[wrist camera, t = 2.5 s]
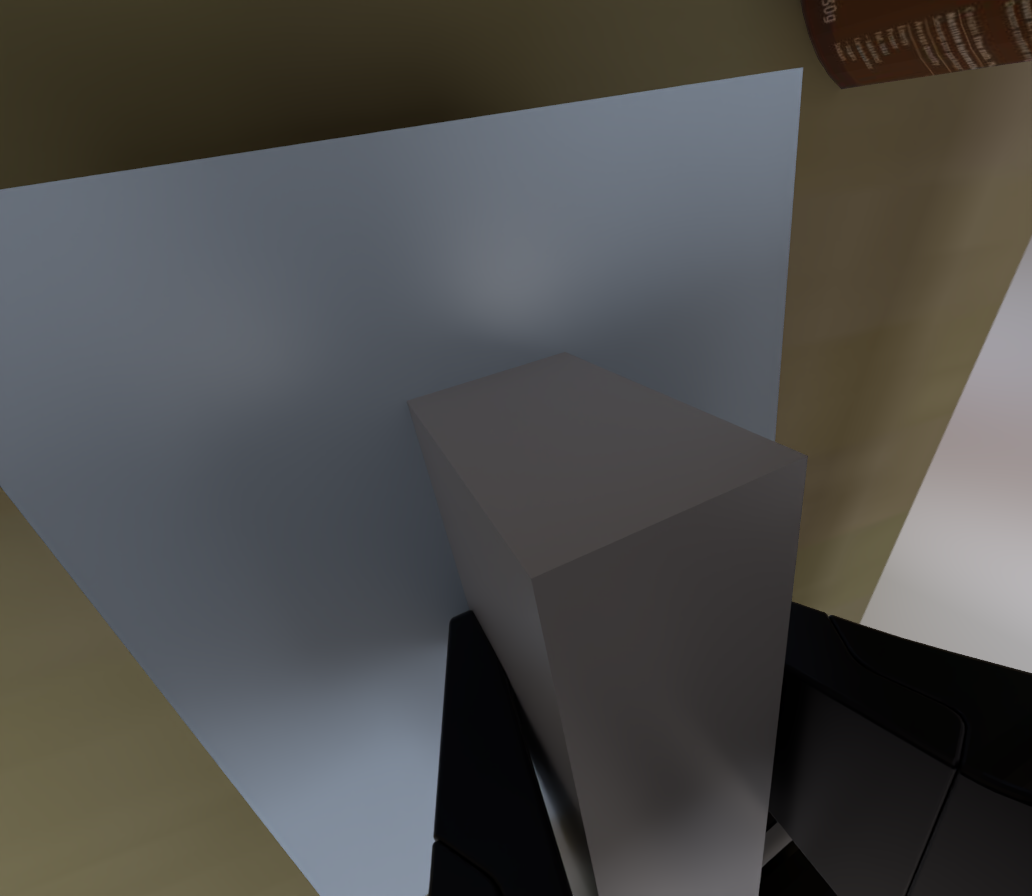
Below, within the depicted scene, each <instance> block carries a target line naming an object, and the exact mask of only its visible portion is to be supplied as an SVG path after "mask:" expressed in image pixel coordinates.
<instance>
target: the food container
mask: <svg viewBox="0 0 1032 896" xmlns="http://www.w3.org/2000/svg"><path fill="white" fill-rule="evenodd" d="M801 4H802V10H803V15H804V18H805V22H806V26H807V30H808V33H809V37H810V39H811V42H812V44H813V47H814V49H815V52H816V54H817V56H818V59H819V60H820V62H821V63H822V65H823V67H824V68H825V70H826V72H827V73H828V75H829V76H830V77H831V78H832V79H833V80H834V81H835V82H836V84H837V85H838V86H839V87H840V88H841V89H845V88H851V87H858V86H865V85H871V84H878V83H885V82H891V81H898V80H905V79H912V78H918V77H925V76H932V75H938V74H945V73H952V72H958V71H965V70H972V69H978V68H985V67H992V66H998V65H1005V64H1012V63H1019V62H1025V61H1032V0H801Z"/></svg>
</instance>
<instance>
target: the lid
mask: <svg viewBox="0 0 1032 896" xmlns="http://www.w3.org/2000/svg"><path fill="white" fill-rule="evenodd" d="M802 75H803V67H802V68H795V69H789V70H782V71H776V72H769V73H762V74H756V75H749V76H743V77H736V78H730V79H723V80H717V81H710V82H703V83H697V84H690V85H684V86H677V87H671V88H664V89H657V90H651V91H644V92H638V93H631V94H625V95H618V96H611V97H605V98H598V99H592V100H585V101H579V102H572V103H566V104H559V105H552V106H546V107H539V108H533V109H526V110H520V111H513V112H506V113H500V114H493V115H487V116H480V117H474V118H467V119H460V120H454V121H447V122H441V123H434V124H428V125H421V126H414V127H408V128H401V129H395V130H388V131H382V132H375V133H369V134H362V135H355V136H349V137H342V138H336V139H329V140H323V141H316V142H309V143H303V144H296V145H290V146H283V147H277V148H270V149H263V150H257V151H250V152H244V153H237V154H231V155H224V156H218V157H211V158H204V159H198V160H191V161H185V162H178V163H172V164H165V165H158V166H152V167H145V168H139V169H132V170H126V171H119V172H112V173H106V174H99V175H93V176H86V177H80V178H73V179H67V180H60V181H53V182H47V183H40V184H34V185H27V186H21V187H14V188H7V189H1V190H0V486H1V488H2V489H3V490H4V492H5V493H6V494H7V495H8V497H9V498H10V499H11V501H12V502H13V503H14V504H15V506H16V507H17V508H18V509H19V511H20V512H21V513H22V515H23V516H24V517H25V518H26V520H27V521H28V522H29V524H30V525H31V526H32V527H33V529H34V530H35V531H36V533H37V534H38V535H39V536H40V538H41V539H42V540H43V541H44V543H45V544H46V545H47V547H48V548H49V549H50V550H51V552H52V553H53V554H54V556H55V557H56V558H57V559H58V561H59V562H60V563H61V565H62V566H63V567H64V568H65V570H66V571H67V572H68V573H69V575H70V576H71V577H72V579H73V580H74V581H75V582H76V584H77V585H78V586H79V588H80V589H81V590H82V591H83V593H84V594H85V595H86V597H87V598H88V599H89V600H90V602H91V603H92V604H93V605H94V607H95V608H96V609H97V611H98V612H99V613H100V614H101V616H102V617H103V618H104V620H105V621H106V622H107V623H108V625H109V626H110V627H111V629H112V630H113V631H114V632H115V634H116V635H117V636H118V637H119V639H120V640H121V641H122V643H123V644H124V645H125V646H126V648H127V649H128V650H129V652H130V653H131V654H132V655H133V657H134V658H135V659H136V661H137V662H138V663H139V664H140V666H141V667H142V668H143V669H144V671H145V672H146V673H147V675H148V676H149V677H150V678H151V680H152V681H153V682H154V684H155V685H156V686H157V687H158V689H159V690H160V691H161V693H162V694H163V695H164V696H165V698H166V699H167V700H168V701H169V703H170V704H171V705H172V707H173V708H174V709H175V710H176V712H177V713H178V714H179V716H180V717H181V718H182V719H183V721H184V722H185V723H186V725H187V726H188V727H189V728H190V730H191V731H192V732H193V733H194V735H195V736H196V737H197V739H198V740H199V741H200V742H201V744H202V745H203V746H204V748H205V749H206V750H207V751H208V753H209V754H210V755H211V757H212V758H213V759H214V760H215V762H216V763H217V764H218V765H219V767H220V768H221V769H222V771H223V772H224V773H225V774H226V776H227V777H228V778H229V780H230V781H231V782H232V783H233V785H234V786H235V787H236V789H237V790H238V791H239V792H240V794H241V795H242V796H243V797H244V799H245V800H246V801H247V803H248V804H249V805H250V806H251V808H252V809H253V810H254V812H255V813H256V814H257V815H258V817H259V818H260V819H261V821H262V822H263V823H264V824H265V826H266V827H267V828H268V829H269V831H270V832H271V833H272V835H273V836H274V837H275V838H276V840H277V841H278V842H279V844H280V845H281V846H282V847H283V849H284V850H285V851H286V853H287V854H288V855H289V856H290V858H291V859H292V860H293V861H294V863H295V864H296V865H297V867H298V868H299V869H300V870H301V872H302V873H303V874H304V876H305V877H306V878H307V879H308V881H309V882H310V883H311V885H312V886H313V887H314V888H315V890H316V891H317V892H318V893H319V895H320V896H425V895H427V894H428V891H429V881H430V868H431V855H432V845H433V843H434V842H435V840H434V838H433V833H434V819H435V806H436V792H437V779H438V766H439V752H440V739H441V725H442V712H443V699H444V685H445V672H446V659H447V645H448V632H449V622H450V620H451V618H453V617H455V616H457V615H459V614H461V613H464V612H466V611H468V610H472V611H473V612H474V614H475V616H476V617H477V619H478V621H479V623H480V625H481V627H482V629H483V630H484V632H485V634H486V636H487V638H488V640H489V642H490V644H491V645H492V647H493V649H494V651H495V653H496V655H497V657H498V659H499V661H500V663H501V665H502V667H503V669H504V671H505V674H506V677H507V680H508V684H509V687H510V690H511V694H512V697H513V700H514V703H515V707H516V710H517V713H518V717H519V720H520V723H521V726H522V730H523V733H524V736H525V740H526V743H527V746H528V749H529V753H530V756H531V759H532V763H533V766H534V769H535V772H536V776H537V779H538V782H539V785H540V789H541V792H542V795H543V799H544V802H545V805H546V808H547V812H548V815H549V818H550V822H551V825H552V828H553V831H554V835H555V838H556V841H557V845H558V848H559V851H560V854H561V858H562V861H563V864H564V868H565V871H566V874H567V877H568V881H569V884H570V887H571V890H572V893H573V895H574V896H759V887H760V878H761V869H762V860H763V851H764V842H765V833H766V824H767V815H768V806H769V798H770V789H771V780H772V771H773V762H774V753H775V744H776V735H777V726H778V717H779V708H780V699H781V690H782V681H783V672H784V664H785V655H786V646H787V637H788V628H789V619H790V610H791V601H792V592H793V583H794V574H795V565H796V556H797V547H798V539H799V530H800V521H801V512H802V503H803V494H804V485H805V476H806V467H807V458H808V456H807V455H804V454H802V453H800V452H797V451H795V450H793V449H790V448H788V447H786V446H783V445H781V444H779V443H776V442H775V433H776V419H777V406H778V393H779V380H780V366H781V353H782V340H783V327H784V313H785V300H786V287H787V274H788V260H789V247H790V234H791V221H792V207H793V194H794V181H795V168H796V154H797V141H798V128H799V115H800V101H801V88H802Z"/></svg>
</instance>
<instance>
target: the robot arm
mask: <svg viewBox="0 0 1032 896" xmlns="http://www.w3.org/2000/svg"><path fill="white" fill-rule="evenodd" d="M433 838H434V840H435V842H434V843H433V845H432V855H431V868H430V881H429V891H428V896H573V894H572V891H571V887H570V884H569V881H568V877H567V874H566V871H565V868H564V864H563V861H562V858H561V854H560V851H559V848H558V845H557V841H556V838H555V835H554V831H553V828H552V825H551V822H550V818H549V815H548V812H547V808H546V805H545V802H544V799H543V795H542V792H541V789H540V785H539V782H538V779H537V776H536V772H535V769H534V766H533V763H532V759H531V756H530V753H529V749H528V746H527V743H526V740H525V736H524V733H523V730H522V726H521V723H520V720H519V717H518V713H517V710H516V707H515V703H514V700H513V697H512V694H511V690H510V687H509V684H508V680H507V677H506V674H505V671H504V669H503V667H502V665H501V663H500V661H499V659H498V657H497V655H496V653H495V651H494V649H493V647H492V645H491V644H490V642H489V640H488V638H487V636H486V634H485V632H484V630H483V629H482V627H481V625H480V623H479V621H478V619H477V617H476V616H475V614H474V612H473V611H472V610H468V611H466V612H464V613H461V614H459V615H457V616H455V617H453V618H451V620H450V622H449V632H448V645H447V659H446V672H445V685H444V699H443V712H442V725H441V739H440V752H439V766H438V779H437V792H436V806H435V819H434V833H433ZM759 896H1032V673H1029V672H1025V671H1021V670H1018V669H1014V668H1010V667H1006V666H1003V665H999V664H995V663H991V662H988V661H984V660H980V659H977V658H973V657H969V656H965V655H962V654H958V653H954V652H950V651H947V650H943V649H939V648H936V647H933V646H929V645H926V644H922V643H919V642H915V641H911V640H908V639H904V638H901V637H898V636H895V635H891V634H888V633H886V632H882V631H879V630H876V629H873V628H870V627H867V626H864V625H861V624H857V623H855V622H852V621H849V620H846V619H843V618H840V617H837V616H834V615H830V616H829V617H828V615H827V614H826V613H824V612H822V611H819V610H816V609H813V608H810V607H807V606H804V605H801V604H798V603H795V602H792V601H791V610H790V619H789V628H788V637H787V646H786V655H785V664H784V672H783V681H782V690H781V699H780V708H779V717H778V726H777V735H776V744H775V753H774V762H773V771H772V780H771V789H770V798H769V806H768V815H767V824H766V833H765V842H764V851H763V860H762V869H761V878H760V887H759Z"/></svg>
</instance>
